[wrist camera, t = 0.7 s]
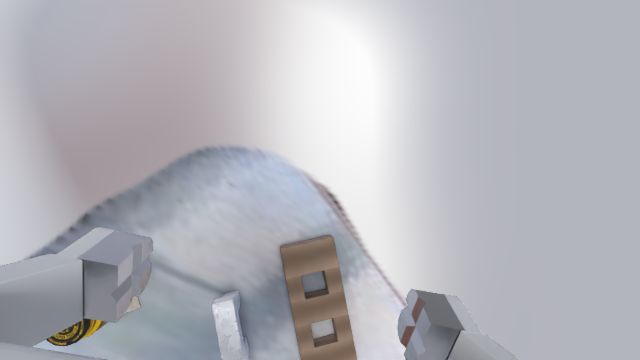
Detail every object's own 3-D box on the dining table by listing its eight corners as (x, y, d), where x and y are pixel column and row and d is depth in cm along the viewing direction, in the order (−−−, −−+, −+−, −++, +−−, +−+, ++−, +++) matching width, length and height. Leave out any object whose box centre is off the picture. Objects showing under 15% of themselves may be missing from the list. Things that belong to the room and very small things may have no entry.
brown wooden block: (354, 358, 55) (358, 367, 52) (304, 371, 54) (305, 382, 51) (330, 235, 56) (333, 237, 53) (280, 245, 55) (280, 249, 52)
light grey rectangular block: (252, 355, 53) (247, 381, 46) (234, 359, 53) (226, 387, 45) (238, 285, 53) (232, 299, 46) (221, 289, 53) (211, 304, 46)
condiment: (141, 307, 51) (100, 341, 39) (87, 327, 50) (28, 369, 38) (126, 264, 51) (80, 286, 39) (72, 284, 50) (8, 312, 38)
